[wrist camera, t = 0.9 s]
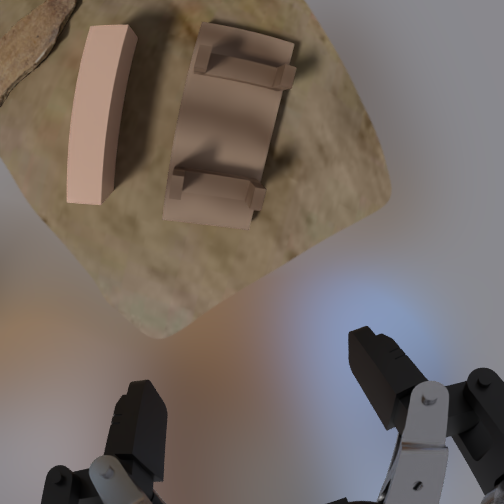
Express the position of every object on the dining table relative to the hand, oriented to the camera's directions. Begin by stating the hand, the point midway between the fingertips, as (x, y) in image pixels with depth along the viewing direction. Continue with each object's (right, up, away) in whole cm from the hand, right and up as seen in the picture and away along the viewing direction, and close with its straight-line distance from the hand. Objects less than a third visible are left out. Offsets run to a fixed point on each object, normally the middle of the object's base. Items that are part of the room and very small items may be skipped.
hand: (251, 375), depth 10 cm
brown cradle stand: (-3, +17, +16) cm, 23 cm away
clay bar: (-14, +18, +12) cm, 26 cm away
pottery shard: (-24, +27, +6) cm, 37 cm away
